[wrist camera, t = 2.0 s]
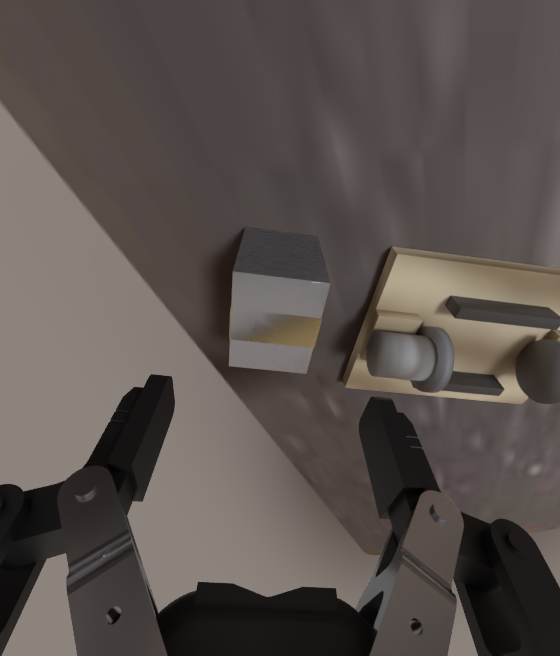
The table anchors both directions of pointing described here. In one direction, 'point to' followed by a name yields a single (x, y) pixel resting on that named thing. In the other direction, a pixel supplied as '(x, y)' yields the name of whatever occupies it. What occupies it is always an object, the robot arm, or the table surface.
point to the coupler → (276, 300)
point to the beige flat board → (461, 330)
